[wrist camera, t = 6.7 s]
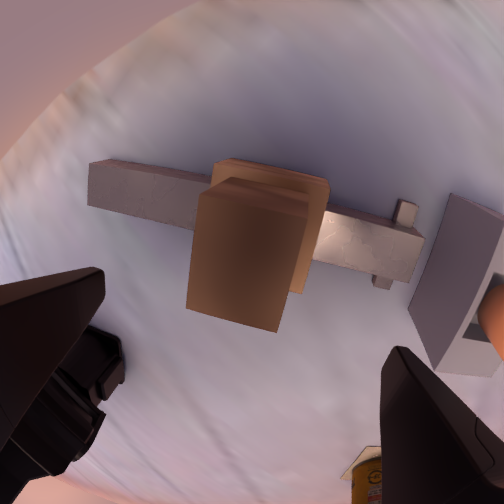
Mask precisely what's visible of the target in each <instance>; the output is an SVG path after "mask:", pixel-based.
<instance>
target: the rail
mask: <svg viewBox="0 0 504 504" xmlns="http://www.w3.org/2000/svg"><path fill="white" fill-rule="evenodd" d="M211 179H212V176H208V175H202V174H197V173H192V172H186V171H181V170H175V169H169V168H164V167H158V166H152V165H145V164H139V163H133V162H126V161H119V160H112V159H108V160H103V161H98V162H93V163H89V176H88V204H87V205H89V206H93V207H97V208H102V209H106V210H110V211H115V212H119V213H123V214H127V215H132V216H136V217H140V218H144V219H148V220H153V221H157V222H161V223H165V224H169V225H174V226H178V227H182V228H186V229H190V230H194V229H195V221H196V214H197V207H198V199H199V194H201V193H202V192H204V191H206V190H208V189H209V188H210V185H211ZM418 208H419V206H417V205H416V204H414V203H411V202H408V201H404V200H401V199H399V201H398V204H397V208H396V211H395V214H394V218H393V220H389V219H386V218H382V217H379V216H376V215H372V214H368V213H365V212H361V211H358V210H354V209H350V208H347V207H343V206H339V205H335V204H331V203H328V202H327V205H326V209H325V213H324V217H323V221H322V225H321V228H320V232H319V236H318V239H317V243H316V247H315V250H314V254H313V257H312V259H314V260H318V261H322V262H326V263H330V264H334V265H338V266H342V267H346V268H350V269H354V270H358V271H362V272H366V273H370V274H374V277H373V279H372V283H373V286H375V287H379V288H383V289H387V290H390V287H391V285H392V282H393V280H398V281H402V282H406V283H409V281H410V279H411V276H412V274H413V271H414V269H415V266H416V263H417V261H418V258H419V255H420V253H421V250H422V247H423V244H424V242H425V238H424V237H423V236H422V235H421V234H420V233H419V232H418V231H417V230H416V229H415V228H414V227H413V224H414V221H415V217H416V214H417V211H418Z"/></svg>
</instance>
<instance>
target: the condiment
mask: <svg viewBox="0 0 504 504" xmlns="http://www.w3.org/2000/svg"><path fill="white" fill-rule="evenodd" d="M376 455H378V456H376ZM341 479H343V480H352V504H381V491H382V467H381V447H366V448H365V450H364V451H363V452H362V453H361V455H360V456H359V457H358V458H357V460H356V461H355V462H354V463H353V464H352V465H351V466H350V468H349V469H348V470H347V471H346V472H345V474H344V475H343V476H342V477H341Z"/></svg>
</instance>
